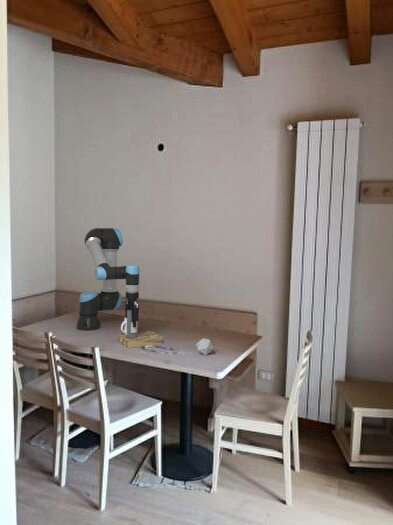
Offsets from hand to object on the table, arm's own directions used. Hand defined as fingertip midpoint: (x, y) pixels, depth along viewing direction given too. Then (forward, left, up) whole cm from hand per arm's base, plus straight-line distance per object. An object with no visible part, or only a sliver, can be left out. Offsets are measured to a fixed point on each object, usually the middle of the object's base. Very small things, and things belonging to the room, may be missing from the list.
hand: (131, 331), depth 270 cm
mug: (-19, +8, -8) cm, 22 cm away
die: (+35, +27, -8) cm, 45 cm away
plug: (0, 0, -4) cm, 4 cm away
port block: (0, +6, -8) cm, 10 cm away
